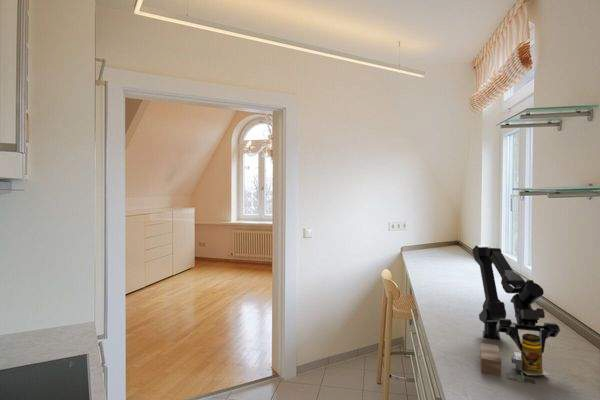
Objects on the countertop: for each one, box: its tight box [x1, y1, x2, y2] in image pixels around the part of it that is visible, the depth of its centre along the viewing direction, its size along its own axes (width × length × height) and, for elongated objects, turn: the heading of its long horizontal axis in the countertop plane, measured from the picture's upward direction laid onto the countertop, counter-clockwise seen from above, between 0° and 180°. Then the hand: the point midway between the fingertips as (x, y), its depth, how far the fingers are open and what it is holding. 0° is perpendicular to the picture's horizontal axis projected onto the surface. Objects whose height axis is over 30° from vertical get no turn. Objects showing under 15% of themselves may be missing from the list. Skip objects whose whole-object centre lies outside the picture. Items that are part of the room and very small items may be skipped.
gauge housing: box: [479, 342, 537, 384], centre depth 131 cm, size 15×16×5 cm
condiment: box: [520, 333, 549, 376], centre depth 129 cm, size 7×8×12 cm
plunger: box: [510, 351, 524, 379], centre depth 129 cm, size 11×3×4 cm, turn 156°
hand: (531, 351), depth 127 cm, fingers closed on condiment, 6 cm apart
